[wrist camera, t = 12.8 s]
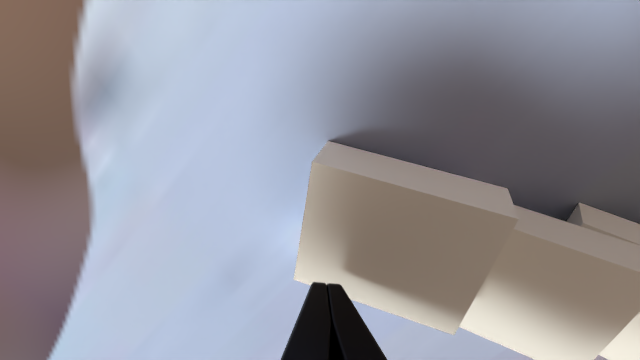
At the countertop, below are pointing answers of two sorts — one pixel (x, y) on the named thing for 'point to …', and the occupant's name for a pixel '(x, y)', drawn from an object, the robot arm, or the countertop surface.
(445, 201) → the domino
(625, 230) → the domino
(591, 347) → the domino
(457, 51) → the countertop surface
